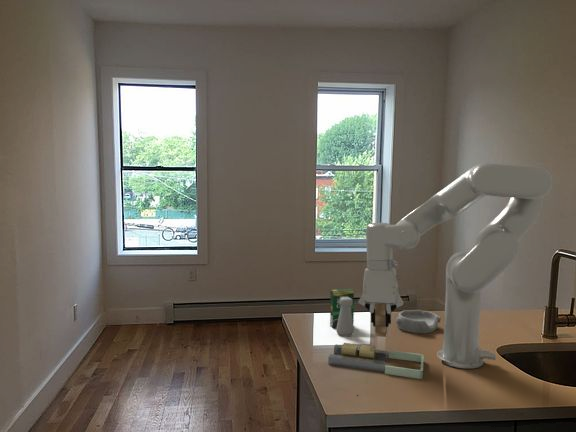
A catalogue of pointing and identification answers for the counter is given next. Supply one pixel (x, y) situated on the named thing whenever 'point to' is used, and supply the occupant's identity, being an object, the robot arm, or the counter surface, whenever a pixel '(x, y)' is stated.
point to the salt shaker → (345, 318)
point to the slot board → (358, 360)
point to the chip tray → (405, 371)
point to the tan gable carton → (380, 320)
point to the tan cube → (349, 350)
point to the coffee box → (336, 306)
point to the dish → (417, 321)
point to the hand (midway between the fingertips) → (381, 324)
